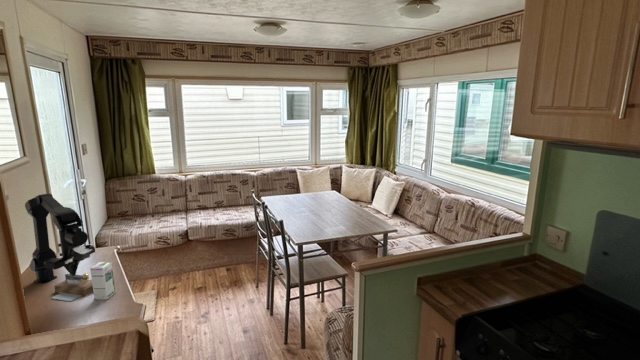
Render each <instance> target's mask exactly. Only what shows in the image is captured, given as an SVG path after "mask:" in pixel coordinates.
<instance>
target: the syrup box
mask: <svg viewBox="0 0 640 360" xmlns="http://www.w3.org/2000/svg"><path fill="white" fill-rule="evenodd" d="M89 272H90V277H91V280H92V285H93V292H92V293H93V297H94V298H93V299H94V300H99V301H100V300H103V301H106V300H109V299H110V297H112V296H113V295H114V294H116V285H115V279H114V272H113V264H112V262H111V261H98V262H97V263H96V264H95V265H93V266H91V267H90V268H89Z"/></svg>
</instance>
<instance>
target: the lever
mask: <svg viewBox="0 0 640 360" xmlns="http://www.w3.org/2000/svg"><path fill="white" fill-rule="evenodd" d="M69 278H77V279H83V280H90V275H89V273H83V274H82V275H81V274H76V275H75V276H71V274H70V273H66V274H65V275H64V280H66V282H67V279H69Z"/></svg>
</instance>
